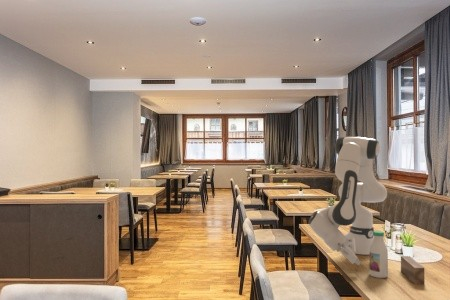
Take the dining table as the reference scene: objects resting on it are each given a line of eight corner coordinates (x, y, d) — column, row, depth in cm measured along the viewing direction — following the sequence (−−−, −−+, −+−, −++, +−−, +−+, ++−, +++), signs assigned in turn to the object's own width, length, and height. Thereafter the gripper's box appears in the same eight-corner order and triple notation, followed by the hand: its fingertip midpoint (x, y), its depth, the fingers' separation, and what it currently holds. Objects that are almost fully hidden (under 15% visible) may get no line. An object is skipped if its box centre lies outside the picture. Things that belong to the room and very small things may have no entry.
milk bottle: (383, 272, 172) (382, 229, 172) (391, 278, 164) (390, 233, 164) (366, 273, 171) (366, 230, 171) (373, 278, 164) (373, 233, 164)
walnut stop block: (414, 284, 157) (414, 267, 157) (400, 270, 175) (400, 255, 175) (424, 284, 156) (424, 268, 156) (409, 271, 174) (409, 256, 174)
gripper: (345, 242, 160) (369, 265, 158) (338, 232, 180) (359, 253, 178) (335, 251, 160) (358, 275, 159) (329, 240, 181) (350, 261, 179)
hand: (359, 263), depth 169 cm, fingers closed
